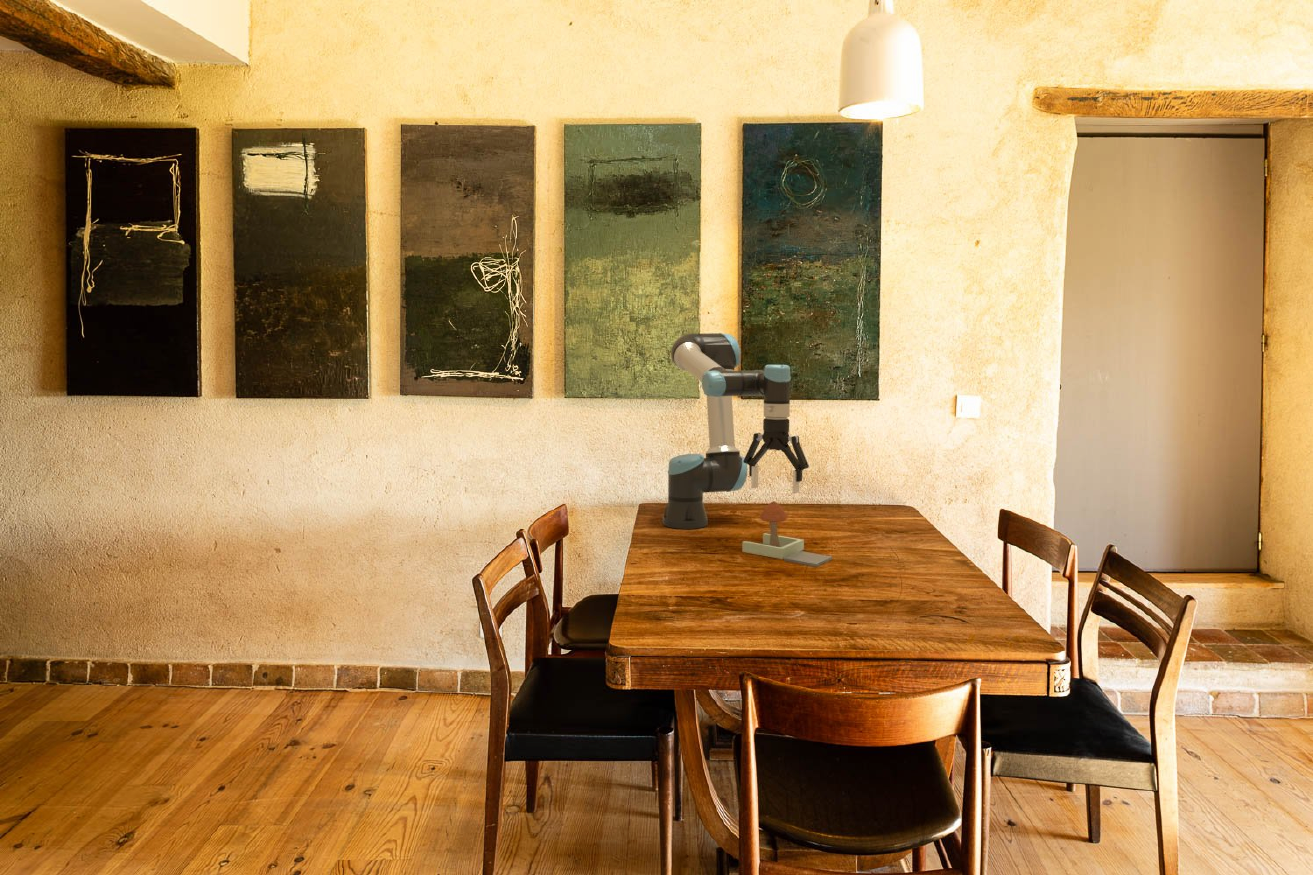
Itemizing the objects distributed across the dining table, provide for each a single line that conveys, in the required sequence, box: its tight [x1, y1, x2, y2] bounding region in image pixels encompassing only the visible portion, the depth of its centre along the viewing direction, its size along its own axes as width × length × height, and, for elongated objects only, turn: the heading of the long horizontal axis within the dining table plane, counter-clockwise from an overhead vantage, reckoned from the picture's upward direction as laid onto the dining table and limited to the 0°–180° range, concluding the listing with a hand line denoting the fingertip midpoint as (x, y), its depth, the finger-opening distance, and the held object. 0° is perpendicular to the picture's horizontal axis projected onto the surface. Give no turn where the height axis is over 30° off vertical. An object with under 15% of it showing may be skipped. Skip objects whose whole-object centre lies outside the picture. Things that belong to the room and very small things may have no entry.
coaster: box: [783, 550, 833, 568], centre depth 234 cm, size 10×10×1 cm
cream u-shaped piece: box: [741, 533, 805, 560], centre depth 244 cm, size 13×13×3 cm
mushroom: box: [759, 501, 788, 547], centre depth 243 cm, size 8×8×15 cm
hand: (774, 490), depth 241 cm, fingers open, 13 cm apart
